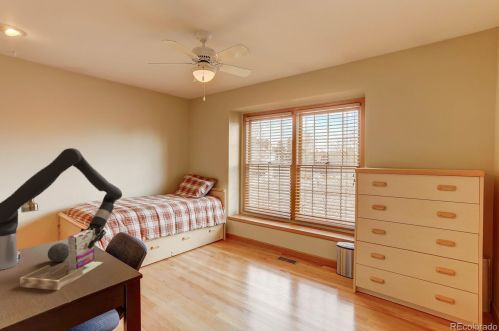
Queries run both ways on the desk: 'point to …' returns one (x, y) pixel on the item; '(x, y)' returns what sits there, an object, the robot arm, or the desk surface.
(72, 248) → the candy bar box
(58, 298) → the desk surface
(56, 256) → the decorative ball
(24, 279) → the lane rack
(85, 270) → the sage mat
